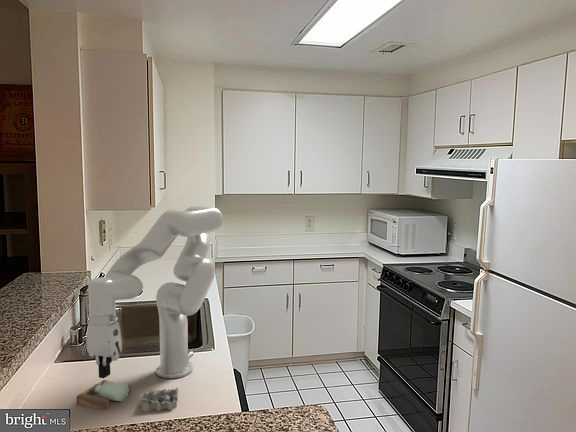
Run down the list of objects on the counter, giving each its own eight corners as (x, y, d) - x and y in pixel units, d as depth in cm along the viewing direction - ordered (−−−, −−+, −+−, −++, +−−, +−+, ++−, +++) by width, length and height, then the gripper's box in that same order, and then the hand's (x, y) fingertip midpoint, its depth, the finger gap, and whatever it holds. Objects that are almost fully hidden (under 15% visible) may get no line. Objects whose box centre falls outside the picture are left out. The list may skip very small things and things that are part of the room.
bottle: (126, 400, 140) (98, 396, 142) (130, 383, 142) (102, 379, 144) (117, 402, 135) (88, 398, 138) (120, 383, 137) (92, 380, 139)
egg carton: (139, 413, 132) (138, 399, 131) (144, 400, 139) (144, 387, 139) (176, 411, 133) (176, 397, 133) (179, 398, 140) (179, 385, 140)
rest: (104, 386, 147) (104, 379, 147) (131, 392, 144) (130, 385, 143) (76, 403, 136) (76, 396, 136) (104, 410, 133) (104, 402, 133)
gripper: (131, 317, 139) (132, 375, 140) (92, 312, 144) (94, 367, 145) (113, 325, 132) (115, 385, 133) (73, 319, 137) (76, 377, 138)
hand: (104, 376), depth 139 cm, fingers closed
